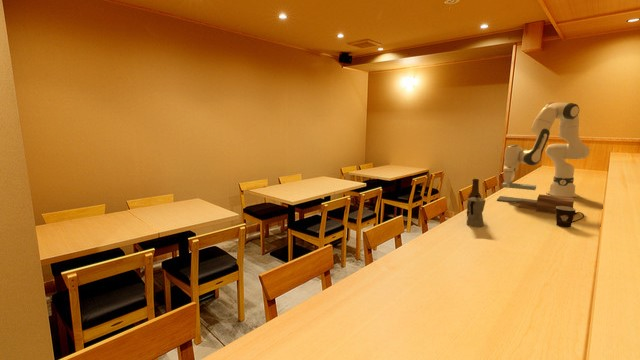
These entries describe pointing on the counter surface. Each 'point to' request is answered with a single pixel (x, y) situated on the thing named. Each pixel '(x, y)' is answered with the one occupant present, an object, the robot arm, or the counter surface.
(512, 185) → the cover plate
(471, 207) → the coffeepot
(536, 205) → the walnut case
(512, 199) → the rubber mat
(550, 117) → the robot arm
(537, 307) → the counter surface
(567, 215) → the coffee mug
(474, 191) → the beer bottle
